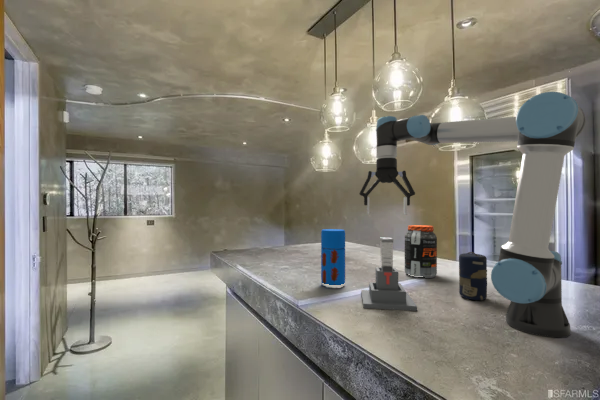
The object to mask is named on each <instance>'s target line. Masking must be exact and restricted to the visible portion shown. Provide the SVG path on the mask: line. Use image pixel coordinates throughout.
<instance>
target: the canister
mask: <svg viewBox="0 0 600 400" xmlns="http://www.w3.org/2000/svg"><path fill="white" fill-rule="evenodd" d="M458 258H459V259H458V276H459V281H458V284H459V287H458V288H459V291H458V292H459V296H460V297H462V298H464V299H467V300H473V301H482V300H484V301H485V300H486V299H487V297H488V294H487V293H488V276H487V275H488V269H487V267H488V265H487V263H488V261H487V260H488V259H487V256H485V255H484V254H480V253H476V252H473V251H469V252H468V251H467V253H466V252H465V253H464V252H463V253H460V254H459V257H458Z"/></svg>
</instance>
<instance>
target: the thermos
mask: <svg viewBox="0 0 600 400" xmlns="http://www.w3.org/2000/svg"><path fill="white" fill-rule="evenodd" d="M320 235H321V236H320V239H321V240H320V245H321V246H320V247H321V248H320V250H321V251H320V253H321V254H320V256H321V257H320V258H321V259H320V260H321V261H320V263H321V264H320V266H321V267H320V269H321V271H320V274H321V275H320V277H321V279H320V280H321V284H322V283H324V284H329V285H341V284H344V283H345V284H346V230H345V229H340V228H339V229H338V228H337V229H336V228H334V229H333V228H328V229H327V228H326V229H321V233H320Z"/></svg>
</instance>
